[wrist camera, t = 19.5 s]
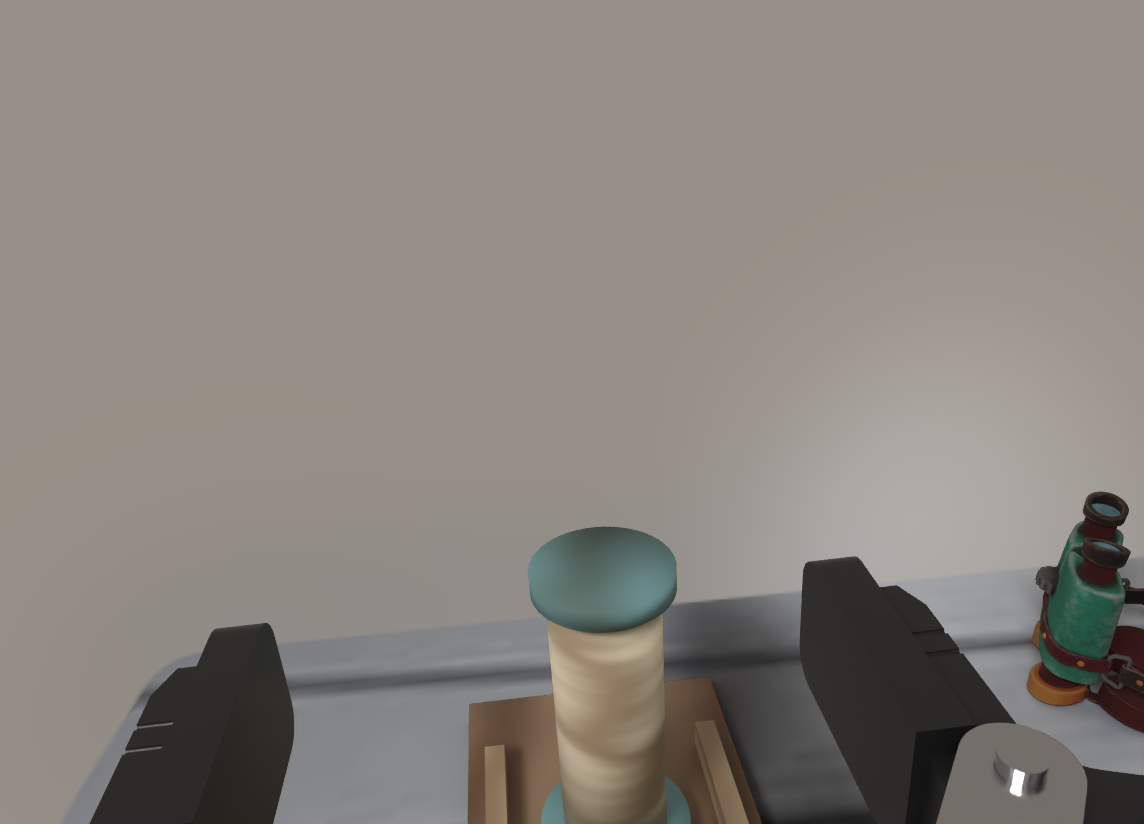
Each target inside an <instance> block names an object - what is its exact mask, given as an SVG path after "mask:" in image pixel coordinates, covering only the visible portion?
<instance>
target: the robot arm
mask: <svg viewBox="0 0 1144 824" xmlns="http://www.w3.org/2000/svg"><path fill="white" fill-rule="evenodd" d="M800 655H801V661H802V666H803V671H804V674H805V678H806V680H807V683H808V685H809V688H810V690H811V692H812V694H813V696H814V698H815V700H816V702H817V704H818V706H819V708H820V710H821V712H822V714H823V716H824V718H825V720H826V722H827V724H828V726H829V728H830V730H831V732H832V734H833V736H834V738H835V740H836V743H837V745H838V747H839V749H840V751H841V753H842V755H843V757H844V759H845V761H846V763H847V765H848V767H849V769H850V771H851V773H852V775H853V777H854V779H855V781H856V783H857V785H858V787H859V789H860V791H861V793H862V795H863V797H864V799H865V801H866V803H867V805H868V808H869V810H870V812H871V814H872V816H873V818H874V820H875V822H876V824H1144V776H1143V775H1136V774H1128V773H1120V772H1112V771H1105V770H1099V769H1093V768H1088V767H1085V766H1082V765H1081V763H1080V762H1079V761H1078V759H1077V758H1076V757H1075V755H1074V754H1073V753H1072V752H1071V751H1070V750H1069V749H1068V748H1066V747H1065V746H1064V745H1062V744H1061V743H1060V742H1058V741H1057V740H1055V739H1054V738H1052V737H1050V736H1048V735H1046V734H1044V733H1042V732H1040V731H1038V730H1035V729H1032V728H1030V727H1026V726H1022V725H1018V724H1016V723H1015V722H1014V720H1013V719H1012V718H1011V716H1010V715H1009V714H1008V712H1007V711H1006V710H1005V708H1004V707H1003V706H1002V704H1001V703H1000V702H999V700H998V699H997V698H996V696H995V695H994V694H993V693H992V691H991V690H990V689H989V687H988V686H987V685H986V683H985V682H984V681H983V679H982V678H981V677H980V675H979V674H978V673H977V671H976V670H975V669H974V667H973V666H972V665H971V663H970V662H969V661H968V660H967V658H966V657H965V656H964V654H963V653H962V654H960V652H959V648H958V646H957V645H956V644H955V642H954V641H953V640H952V638H951V637H950V636H949V634H948V633H947V634H945V632H944V628H943V627H942V625H941V624H940V623H939V621H938V620H937V619H936V617H935V616H934V615H933V613H932V612H931V611H930V609H929V608H928V607H927V605H926V604H924V603H923V602H921V601H920V600H918V599H917V598H915V597H914V596H912V595H910V594H909V593H907V592H906V591H904V590H903V589H901V588H900V587H898V586H897V585H896V586H887V587H879V586H878V584H877V583H876V581H875V580H874V579H873V577H872V576H871V574H870V573H869V571H868V570H867V569H866V567H865V566H864V564H863V563H862V561H861V560H860V559H859V558H858V557H845V558H837V559H828V560H820V561H811V562H807V563H806V564H805V567H804V570H803V584H802V604H801V626H800ZM293 738H294V714H293V707H292V702H291V698H290V694H289V690H288V686H287V682H286V678H285V674H284V671H283V667H282V663H281V659H280V655H279V651H278V647H277V644H276V640H275V636H274V633H273V630H272V628H271V626H270V625H269V624H268V623H263V624H254V625H245V626H237V627H227V628H220V629H215V630H213V632H212V633H211V635H210V637H209V639H208V641H207V644H206V646H205V648H204V651H203V653H202V655H201V658H200V660H199V662H198V665H197V666H195V667H187V668H178V669H177V670H176V671H175V672H174V673H173V674H172V675H171V676H170V677H169V678H168V679H167V680H166V681H165V682H164V683H163V684H162V685H161V686H160V687H159V688H158V689H157V690H156V691H155V692H154V693H153V694H152V695H151V696H150V698H149V700H148V702H147V705H146V707H145V709H144V711H143V713H142V715H141V717H140V719H139V721H138V723H137V730H134V732H133V734H132V736H131V738H130V740H129V742H128V744H127V746H126V748H125V749H126V753H125V755H122V757H121V759H120V761H119V763H118V765H117V767H116V769H115V771H114V774H113V776H112V778H111V780H110V782H109V784H108V786H107V788H106V790H105V792H104V794H103V797H102V799H101V801H100V803H99V805H98V807H97V809H96V811H95V813H94V815H93V818H92V820H91V822H90V824H273V822H274V818H275V814H276V810H277V806H278V802H279V798H280V794H281V790H282V786H283V782H284V778H285V774H286V770H287V766H288V762H289V758H290V754H291V750H292V746H293Z"/></svg>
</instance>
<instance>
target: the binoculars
mask: <svg viewBox="0 0 1144 824" xmlns="http://www.w3.org/2000/svg"><path fill="white" fill-rule="evenodd" d="M1128 512H1129V508H1128V506H1127V504H1126V502H1125V501H1124V500H1122V499H1121V498H1120V497H1118V496H1116V495H1114V494H1111V493H1108V492H1094V493H1091V494H1090V495H1088V497H1087V498H1086V501H1085V505H1084V509H1083V513H1084V515H1085V516H1086V517H1085V520H1084V521H1082V522H1080V523H1078V524H1077V525H1076V526H1075V527H1074V529H1073V530H1072V532H1071V534H1070V536H1069V538H1068V540H1067V543H1066V546H1065V548H1064V551H1063V553H1062V556H1061V558H1060V561H1059V563H1058V566H1057V567H1051V566H1047V567H1042V568H1040V570H1038V573H1037V575H1036V579H1035V580H1036V584H1037V585H1039V587H1040V589H1042V590H1044V591H1045V592H1044V595H1043V607H1042V611H1041V617H1040V620H1039V621H1038V622H1037V623H1036V626H1035V630H1034V633H1033V637H1032V641H1033V643H1034V644H1035V646H1037V647H1038V648H1039V650H1040V655H1041V658H1042V661H1043V662H1041V663H1038V664H1036V665H1035V666H1033V668H1032V669H1031V672H1030V676H1029V679H1028V683H1027V688H1028V690H1029V692H1030V693H1031V694H1032V695H1033V696H1034V697H1035V698H1037V699H1038V700H1040V701H1042V702H1045V703H1048V704H1052V705H1070V704H1074V703H1077V702H1080V701H1081V700H1083V699H1084V698H1085V697H1087V698H1088V699H1089V700H1091V701H1093V702H1096V703H1099V704H1100V705H1101V706H1102V707H1103V708H1104V709H1105V710H1106V711H1107V712H1109V713H1110V714H1111V715H1112V716H1114V717H1115V718H1117V719H1118V720H1120V721H1121V722H1123V723H1125V724H1126V725H1128V726H1130V727H1132V728H1134V729H1137V730H1139V731H1142V732H1144V630H1143V629H1140V628H1137V627H1131V626H1117V624H1118V621H1119V617H1120V614H1121V611H1122V608H1123V605H1124V603H1125V604H1142V605H1144V588H1143V589H1136V588H1132V587H1129V586H1130V581H1129V579H1126V578H1122V579H1121V576H1120V574H1119V573H1118V571H1117V570H1118V568H1121V567H1123V566H1124V565H1125V564H1126V562H1127V560H1128V557H1129V555H1130V553H1131V552H1130V550H1128V549H1127V548H1125V547H1124V546H1122V543H1123V534H1122V533H1121V531H1119V530H1117V526H1121V525H1122V524H1123V523H1124V521H1125V519H1126V517H1127V515H1128ZM1122 582H1126V583H1125V585H1123V583H1122ZM1111 668H1112V669H1113V670H1115V671H1116V672H1117V673H1119V674H1118V675H1112V676H1108V677H1107V676H1106V674H1109V672H1110V669H1111ZM1100 673H1101V676H1102V678H1103V680H1104V682H1103V684H1102V686H1101V688H1100V690H1099V692H1098V694H1096V693H1093V692H1091V691H1090V684H1094V683H1096V682H1097V680H1098V678H1099V676H1100Z"/></svg>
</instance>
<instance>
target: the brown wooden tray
mask: <svg viewBox="0 0 1144 824" xmlns="http://www.w3.org/2000/svg"><path fill="white" fill-rule="evenodd" d="M664 706H665V752H666V776H667V777H668V778H669V779H671V780H672V781H673V782H674V783H675V784H676V785H677V786H678V788H679V789H680V790H681V792H682V793H683V795H684V797H685V799H686V801H687V804H688V807H689V811H690V816H691V824H762V822H761V820H760V817H759V814H758V811H757V808H756V806H755V803H754V800H753V797H752V794H751V792H750V789H749V786H748V783H747V780H746V777H745V775H744V772H743V769H742V766H741V763H740V761H739V758H738V755H737V752H736V749H735V747H734V744H733V741H732V738H731V735H730V733H729V730H728V727H727V724H726V721H725V719H724V716H723V713H722V710H721V707H720V705H719V702H718V699H717V696H716V693H715V691H714V688H713V685H712V682H711V679H710V677H701V678H692V679H683V680H675V681H666V682H664ZM560 781H561V775H560V763H559V752H558V740H557V729H556V717H555V705H554V694H552V695H544V696H535V697H526V698H517V699H509V700H500V701H491V702H482V703H474V704H469V767H468V824H541V817H542V810H543V807H544V804H545V802H546V800H547V797H548V795H549V794H550V793H551V791H552V790H553V788H554V787H555V786H556V785H557V784H558V783H559V782H560Z"/></svg>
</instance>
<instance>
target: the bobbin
mask: <svg viewBox="0 0 1144 824" xmlns="http://www.w3.org/2000/svg"><path fill="white" fill-rule="evenodd" d="M528 576H529V587H530V596H531V600H532V602H533V605H534V606H535V608H536V609H537V611H539V613H541V614H542V615H543V616H544V617H545V618H547V624H548V636H549V647H550V659H551V670H552V682H553V694H554V705H555V717H556V729H557V740H558V752H559V763H560V775H561V781H560V782H559V783H558V784H557V785H556V786H555V787H554V788H553V790H552V791H551V793H550V794H549V795H548V797H547V800H546V802H545V804H544V807H543V810H542V817H541V824H691V816H690V811H689V807H688V804H687V801H686V799H685V797H684V795H683V793H682V792H681V790H680V789H679V788H678V786H677V785H676V784H675V783H674V782H673V781H672V780H671V779H669V778H668V777H667V776H666V752H665V706H664V660H663V614H662V613H663V612H665V611H666V610H667V608H668V607H669V606H670V605H671V603H672V602H673V600H674V598H675V595H676V591H677V577H676V576H677V575H676V560H675V557H674V555H673V553H672V552H671V550H670V549H669V548H668V547H667V546H666V545H665V544H664V543H663V542H661V541H660V540H658V539H656V538H655V537H653V536H651V535H648V534H646V533H643V532H640V531H636V530H632V529H627V528H620V527H594V528H586V529H581V530H576V531H572V532H569V533H566V534H563V535H561V536H558V537H556V538H554V539H552V540H551V541H549V542H547V543H546V544H545V545H543V546H542V547H541V548H540V549H539V550H538V551H537V552H536V553H535V554H534V556H533V557H532V559H531V561H530V563H529V567H528Z"/></svg>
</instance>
